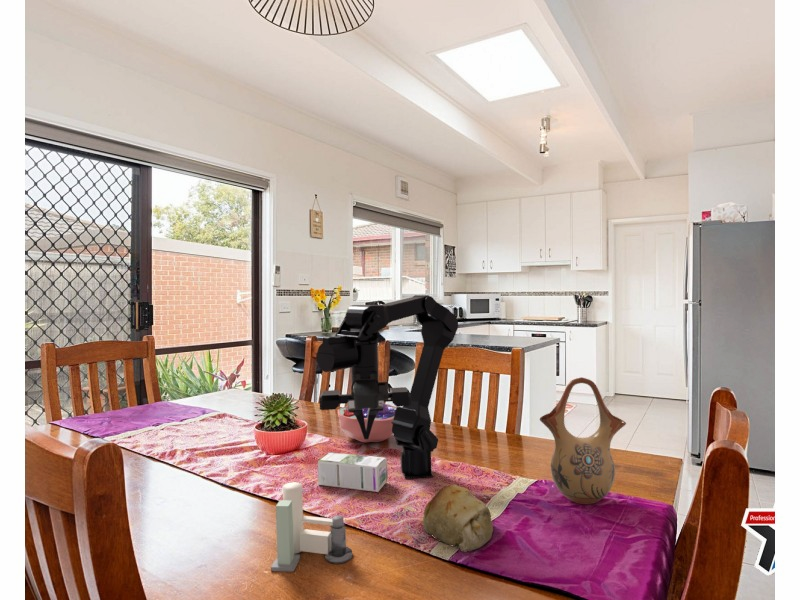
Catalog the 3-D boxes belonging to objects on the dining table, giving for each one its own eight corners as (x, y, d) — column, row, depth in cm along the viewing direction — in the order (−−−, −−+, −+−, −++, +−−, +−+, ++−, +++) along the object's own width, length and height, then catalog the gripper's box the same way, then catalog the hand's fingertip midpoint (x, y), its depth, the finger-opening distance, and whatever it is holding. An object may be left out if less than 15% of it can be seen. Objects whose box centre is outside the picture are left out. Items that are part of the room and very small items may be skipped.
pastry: (421, 513, 94) (420, 473, 94) (485, 512, 94) (484, 471, 94) (425, 554, 80) (424, 507, 80) (500, 553, 80) (500, 505, 80)
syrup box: (317, 485, 108) (378, 494, 103) (317, 459, 107) (378, 467, 103) (329, 475, 113) (388, 482, 108) (328, 450, 113) (387, 457, 108)
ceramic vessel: (541, 507, 95) (540, 381, 94) (539, 487, 104) (538, 372, 103) (631, 514, 92) (631, 383, 91) (621, 493, 101) (620, 374, 100)
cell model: (362, 426, 151) (361, 390, 151) (415, 437, 139) (414, 398, 139) (323, 441, 137) (322, 402, 137) (378, 455, 126) (377, 412, 125)
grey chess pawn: (352, 547, 82) (351, 518, 82) (352, 562, 78) (351, 532, 78) (325, 549, 82) (325, 520, 82) (324, 565, 77) (323, 534, 77)
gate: (347, 549, 81) (345, 486, 81) (340, 560, 78) (338, 495, 78) (289, 542, 84) (288, 481, 83) (280, 552, 81) (279, 489, 80)
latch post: (278, 557, 80) (276, 497, 79) (300, 558, 79) (298, 498, 79) (270, 570, 76) (269, 508, 76) (293, 571, 76) (291, 508, 75)
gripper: (316, 374, 92) (319, 455, 93) (414, 370, 94) (415, 449, 95) (320, 364, 103) (322, 436, 104) (407, 361, 105) (408, 432, 106)
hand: (366, 438), depth 102 cm, fingers closed
